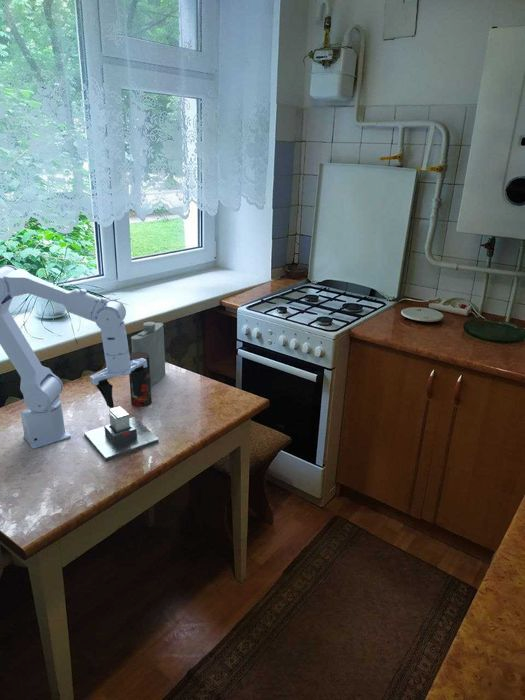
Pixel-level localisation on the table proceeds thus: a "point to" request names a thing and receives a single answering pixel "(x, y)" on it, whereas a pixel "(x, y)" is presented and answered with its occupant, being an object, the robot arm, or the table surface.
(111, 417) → the column
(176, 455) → the table surface
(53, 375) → the robot arm
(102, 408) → the table surface
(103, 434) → the base plate with holder
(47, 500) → the table surface
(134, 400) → the deodorant
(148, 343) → the hip flask
